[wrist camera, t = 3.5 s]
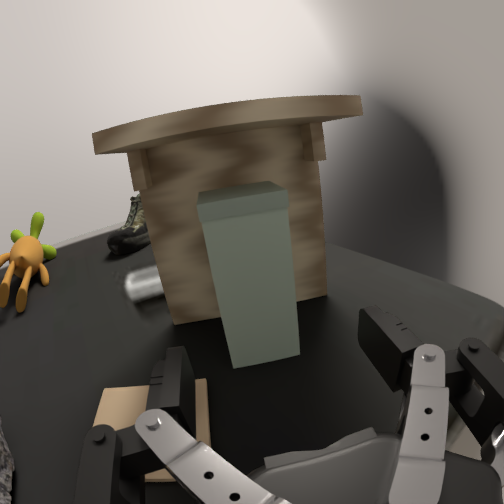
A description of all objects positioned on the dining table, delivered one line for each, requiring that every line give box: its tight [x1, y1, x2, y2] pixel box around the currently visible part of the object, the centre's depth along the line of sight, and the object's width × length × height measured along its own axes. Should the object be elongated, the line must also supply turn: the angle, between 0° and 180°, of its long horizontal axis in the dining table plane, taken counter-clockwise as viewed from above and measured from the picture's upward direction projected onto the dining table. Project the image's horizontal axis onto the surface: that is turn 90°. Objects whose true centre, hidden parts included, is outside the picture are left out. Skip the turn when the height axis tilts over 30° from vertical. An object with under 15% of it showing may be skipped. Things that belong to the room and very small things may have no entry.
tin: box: [197, 181, 300, 369], centre depth 21 cm, size 5×5×12 cm
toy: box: [0, 212, 56, 313], centre depth 43 cm, size 13×14×30 cm
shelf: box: [92, 95, 363, 325], centre depth 21 cm, size 15×10×17 cm, turn 99°
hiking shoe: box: [107, 194, 151, 255], centre depth 58 cm, size 8×21×9 cm, turn 170°
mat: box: [93, 378, 211, 482], centre depth 15 cm, size 8×8×1 cm
